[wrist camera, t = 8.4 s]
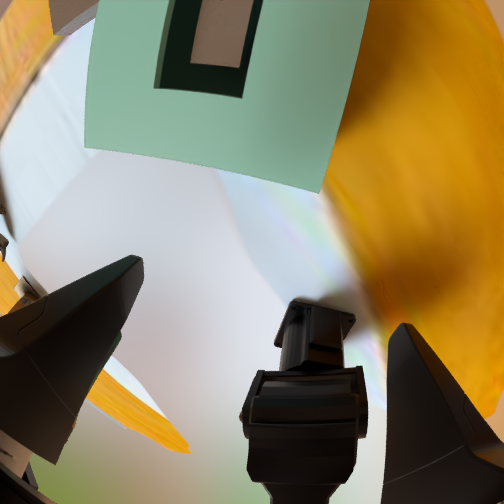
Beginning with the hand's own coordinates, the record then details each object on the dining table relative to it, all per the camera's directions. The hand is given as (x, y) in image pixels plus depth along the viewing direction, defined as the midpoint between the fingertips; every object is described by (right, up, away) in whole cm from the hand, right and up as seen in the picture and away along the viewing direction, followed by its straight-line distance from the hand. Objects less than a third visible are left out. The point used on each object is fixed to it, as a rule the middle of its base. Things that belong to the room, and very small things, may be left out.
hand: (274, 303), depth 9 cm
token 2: (-1, +15, +5) cm, 16 cm away
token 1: (-14, +22, +4) cm, 26 cm away
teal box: (-1, +15, +5) cm, 16 cm away
